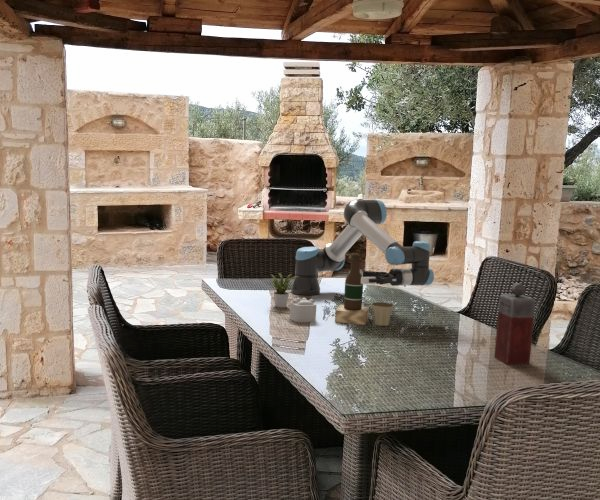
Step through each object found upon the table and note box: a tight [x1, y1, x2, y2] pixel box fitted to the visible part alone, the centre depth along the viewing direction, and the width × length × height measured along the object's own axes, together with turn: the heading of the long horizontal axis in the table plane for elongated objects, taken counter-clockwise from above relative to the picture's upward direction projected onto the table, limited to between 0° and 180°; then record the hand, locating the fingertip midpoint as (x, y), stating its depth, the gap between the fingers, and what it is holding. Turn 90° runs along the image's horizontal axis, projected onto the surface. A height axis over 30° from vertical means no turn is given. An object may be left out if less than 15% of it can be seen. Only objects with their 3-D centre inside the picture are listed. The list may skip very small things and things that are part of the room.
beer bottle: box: [343, 252, 364, 310], centre depth 286 cm, size 8×8×24 cm
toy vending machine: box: [493, 282, 536, 366], centre depth 236 cm, size 9×11×28 cm
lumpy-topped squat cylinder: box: [289, 297, 317, 323], centre depth 286 cm, size 10×13×9 cm
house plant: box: [269, 272, 298, 308], centre depth 309 cm, size 14×14×16 cm
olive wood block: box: [334, 303, 370, 326], centre depth 288 cm, size 13×13×5 cm
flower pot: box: [371, 301, 395, 327], centre depth 282 cm, size 9×9×9 cm
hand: (354, 277), depth 286 cm, fingers open, 13 cm apart
